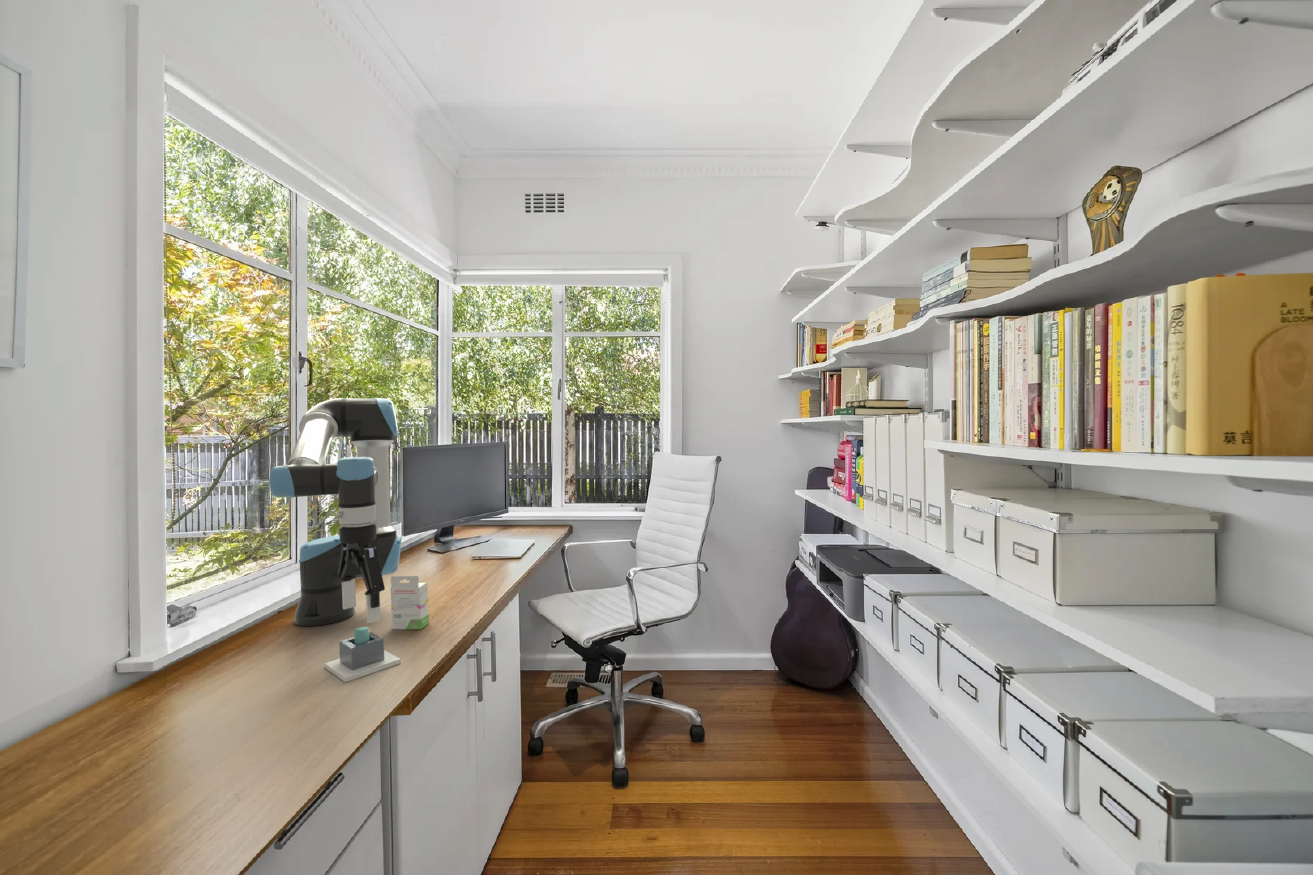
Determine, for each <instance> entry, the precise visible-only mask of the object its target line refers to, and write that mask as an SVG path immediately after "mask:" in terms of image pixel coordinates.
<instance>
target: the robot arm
mask: <svg viewBox="0 0 1313 875" xmlns="http://www.w3.org/2000/svg"><path fill="white" fill-rule="evenodd" d="M298 425H299V426H298V430H299V435H298V437H297V440H296V442H295V445H294V448H293V449H292V453H291V455H290V457H289V460H288V462H287V464H283V465H277V466H273V467H272V468H271V470H270V473H269V489H270V493H271V495H272V496H274V497H275V498H293V499H294V498H300V497H313V496H314V497H315V496H316V497H317V496H328V495H329V496H330V495H331V496H332V495H338V498H337V499H338V512H336V516H337V517H338V521H339V522H338V523H339V524H340V526H339V528H338V529H339V535H338V534H334V535H329V536H326V537H321V538H317V539H313V540H310V541H308V542H305V543H304V544H302V546H301V547H300V549H299V559H298V563H299V577H300V596H299V600H298V604H297V607H296V609H295V613H294V624H295V625H297V626H300V627H317V626H324V625H325V626H326V625H329V624H335V623H338V622H342V621H344V620H346V619H348V618H350V617H353V615H355V613H356V612H355V608H356V607H357V597H356V594H357V592H356V579H362V580H363V582H364V585H365V588H366V591H365V593H364V595H365V606H366V623H367V624H371V623H373V622H374V623H375V622H377V621H380V620H382V617H381V615H382V614H381V592H382V591H386V590H385V589H386V587H385V583H384V579H383V576H387V575H393V574H395V573H396V572H397V571H398V569H399V563H400V558H401V557H400V556H401V546H402V538H403V537H402V535H401V534H397V529H396V528H395V527H394V526H393V525H392V520H391V518H392V517H391V494H390V490H391V488H390V486H391V485H390V461H389V460H390V459H389V458H390V457H389V456H390V455H389V447H390V446H391V445H392V444H393V443H394V442H395V441H394V440H395V439H394V437H397V436H398V435H399V428H398V427H399V426H398V422H397V416H396V411H395V406H394V401H392V400H391V399H388V398H380V397H363V398H362V397H360V398H359V397H358V398H357V397H356V398H354V397H353V398H351V397H350V398H348V397H347V398H345V397H344V398H341V397H338V398H331V399H327V400H325V401H322V402H320V403H318V404H316V405H314V406H313V407H311V408H309V409H308V410H307V411H306V412H305V414H304V415H303V416H302V417H301V419H300V421H299V424H298ZM342 437H343V438H345V437H347V438H348V437H349V438H350V443H351V444H352V445H353V446H354V447H355V448H356V456H349V457H347V456H346V457H340V458H339V459H338V460H337V462H336V463H325V462H326V459H327V456H328V451H329V449H330V446H331V441H332V440H334V439H335V438H342Z"/></svg>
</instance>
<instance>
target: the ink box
mask: <svg viewBox="0 0 1313 875" xmlns="http://www.w3.org/2000/svg"><path fill="white" fill-rule="evenodd" d="M405 580H406V581H409V582H401V581H405ZM419 580H420V579H419V575H392V576H390V605H391V606H390V607H391V610H390V611H391V628H392V630H422V629H423V628H424V627H426V626H427V625H429V624H430V617H429V616H430V614H429V610H430V609H429V590H428V588H429V587H428V582H420V581H419Z"/></svg>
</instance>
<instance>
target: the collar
mask: <svg viewBox="0 0 1313 875" xmlns="http://www.w3.org/2000/svg"><path fill="white" fill-rule="evenodd" d="M338 645H339V659H340V663H342V664H343V665H345V666H346V667H348V668H349V669H351V670H352V671H353V670H356V669H359V668H362V667H365V666H368V665H371V664H374V663H377V662H380V661H383V660H384V650H385V640H384V638H383V637H381V636H380V635H377V634H376V633H373V631H369V641H368V642H364V643H361V644H358V645H355V639H354V636H352V637H349V638H345V639H341V640H339V644H338Z"/></svg>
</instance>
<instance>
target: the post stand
mask: <svg viewBox="0 0 1313 875" xmlns="http://www.w3.org/2000/svg"><path fill="white" fill-rule="evenodd" d="M369 632H370V627H369V626H361V627H357V628H355V629H354V630H353V634H354V636H353V637H354V639H355V645H358V644H361V643H364V642H368V641H369ZM400 664H401V658H400V657H398V656H396V655H395V654H392V653H390V652H389V651H387V650H385V649H384V660H383V661H380V662H377V663H374V664H371V665H368V666H365V667H362V668H359V669H356V670H353V671H352V670H351V669H349V668H348V667H346V666H345V665H343V664H342V663H340V658H337V659H333V660H331V661H328V662H325V663H324V668H325V669H326V670H327V671H329V672H330V673H331V674H333V675H335V676H336V677H338V678H339V679H340V680H341V681H343V682H344V683H347V682H350V681H353V680H356V679H359V678H361V677H364V676H368V675H371V674H373V673H376V672H377V673H378V672H380V671H383V670H385V669H388V668H391V667H395V666H398V665H400Z"/></svg>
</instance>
